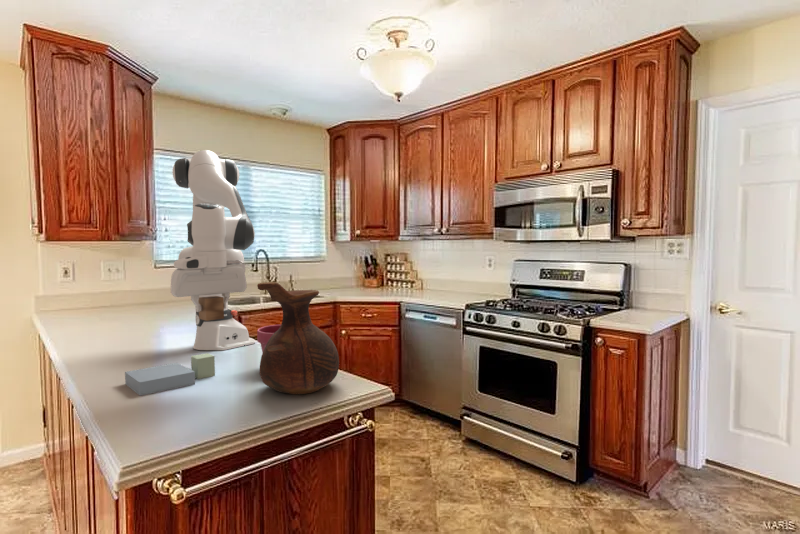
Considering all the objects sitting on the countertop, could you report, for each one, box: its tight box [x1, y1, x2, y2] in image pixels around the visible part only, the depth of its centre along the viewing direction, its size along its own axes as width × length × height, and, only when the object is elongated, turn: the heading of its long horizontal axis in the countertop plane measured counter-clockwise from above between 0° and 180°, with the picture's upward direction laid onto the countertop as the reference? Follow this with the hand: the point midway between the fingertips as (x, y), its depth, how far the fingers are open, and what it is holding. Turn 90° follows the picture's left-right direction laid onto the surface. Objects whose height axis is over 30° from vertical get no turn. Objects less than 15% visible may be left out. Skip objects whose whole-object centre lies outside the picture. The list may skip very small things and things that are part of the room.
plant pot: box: [256, 324, 281, 353], centre depth 146 cm, size 14×14×13 cm
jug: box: [256, 281, 340, 395], centre depth 125 cm, size 22×22×30 cm
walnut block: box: [198, 296, 224, 321], centre depth 129 cm, size 5×5×6 cm
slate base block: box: [124, 362, 196, 396], centre depth 130 cm, size 14×14×4 cm
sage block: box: [190, 353, 216, 380], centre depth 138 cm, size 5×5×6 cm
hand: (211, 310), depth 129 cm, fingers closed on walnut block, 5 cm apart
